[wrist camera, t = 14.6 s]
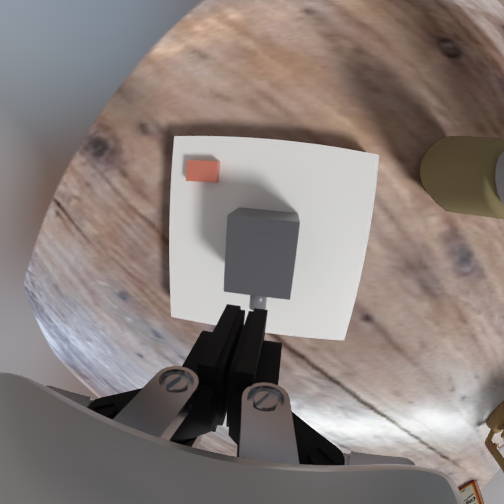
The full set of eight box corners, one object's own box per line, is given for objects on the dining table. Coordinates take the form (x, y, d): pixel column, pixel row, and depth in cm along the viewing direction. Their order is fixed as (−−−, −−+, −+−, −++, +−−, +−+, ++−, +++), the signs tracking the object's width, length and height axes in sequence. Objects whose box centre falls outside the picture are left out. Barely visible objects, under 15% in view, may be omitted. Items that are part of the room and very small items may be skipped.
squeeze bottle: (398, 154, 25) (514, 142, 8) (447, 130, 23) (559, 111, 6) (426, 219, 26) (536, 272, 9) (471, 191, 24) (580, 219, 7)
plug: (243, 204, 28) (227, 214, 21) (297, 209, 28) (299, 222, 20) (238, 282, 31) (222, 315, 24) (287, 288, 30) (286, 324, 23)
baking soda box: (473, 479, 44) (482, 506, 28) (476, 480, 44) (484, 505, 29) (454, 492, 46) (461, 518, 31) (458, 492, 47) (464, 517, 32)
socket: (370, 156, 25) (382, 154, 22) (340, 326, 31) (345, 345, 27) (185, 139, 27) (170, 135, 24) (180, 305, 33) (168, 320, 29)
